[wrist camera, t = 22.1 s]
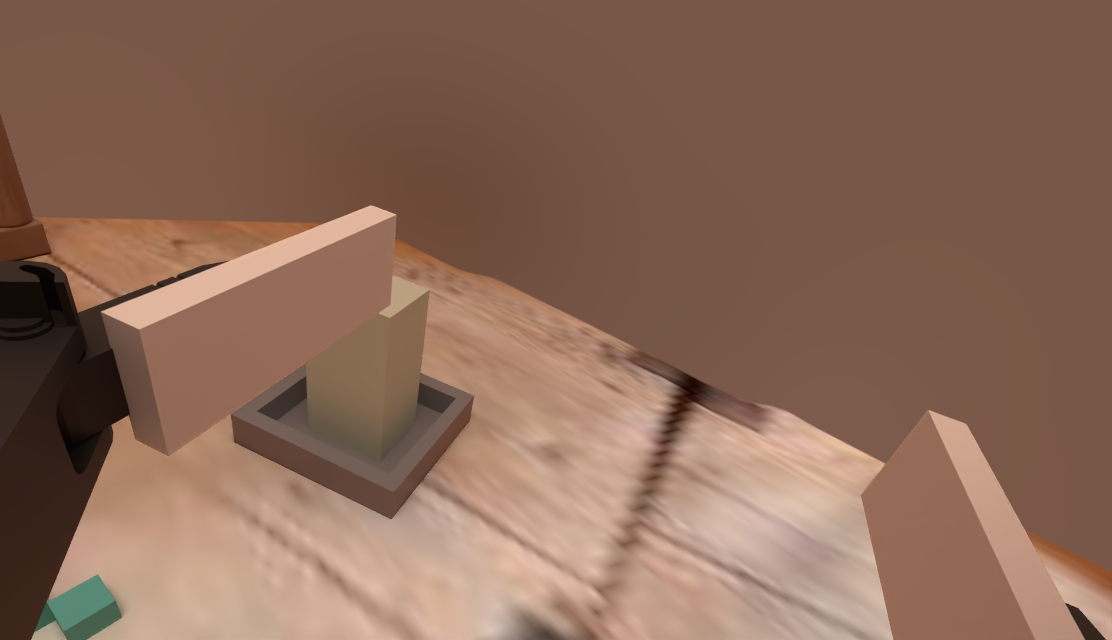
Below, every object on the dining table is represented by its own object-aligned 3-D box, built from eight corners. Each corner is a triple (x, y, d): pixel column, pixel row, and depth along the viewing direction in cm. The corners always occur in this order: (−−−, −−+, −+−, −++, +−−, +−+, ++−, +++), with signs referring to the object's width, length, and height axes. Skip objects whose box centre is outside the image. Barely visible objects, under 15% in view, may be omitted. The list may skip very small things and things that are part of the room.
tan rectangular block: (414, 425, 46) (429, 289, 39) (380, 462, 42) (389, 318, 35) (348, 395, 48) (350, 258, 40) (308, 428, 43) (303, 282, 36)
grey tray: (469, 419, 49) (474, 395, 48) (391, 518, 39) (393, 492, 37) (340, 363, 52) (340, 339, 50) (234, 442, 41) (230, 414, 40)
